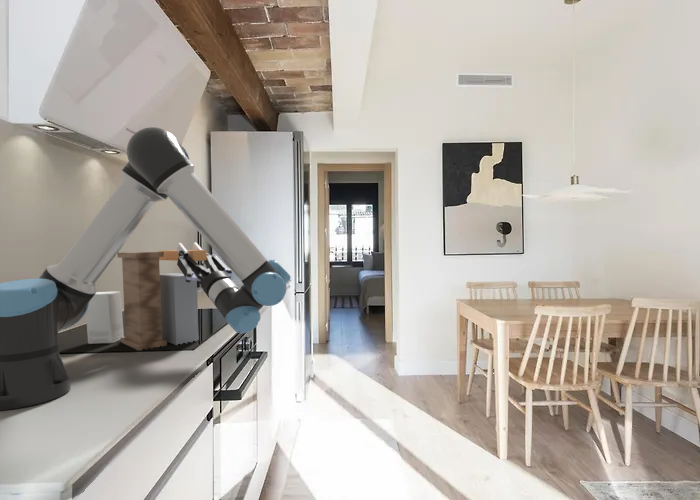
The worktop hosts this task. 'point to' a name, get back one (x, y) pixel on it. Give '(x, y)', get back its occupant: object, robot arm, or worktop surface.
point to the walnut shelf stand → (142, 299)
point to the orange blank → (194, 254)
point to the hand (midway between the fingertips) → (186, 246)
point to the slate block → (178, 308)
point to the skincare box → (104, 318)
